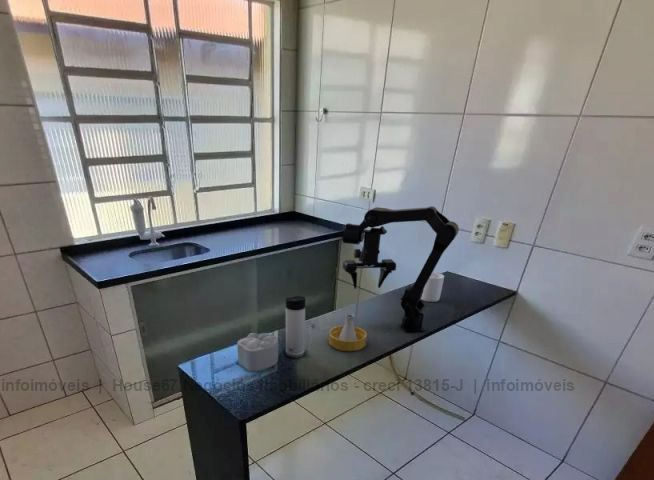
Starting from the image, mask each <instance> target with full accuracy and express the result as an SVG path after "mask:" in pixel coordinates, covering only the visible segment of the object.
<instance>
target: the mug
mask: <svg viewBox="0 0 654 480" xmlns="http://www.w3.org/2000/svg"><path fill="white" fill-rule="evenodd" d="M444 279H445V275H444V274H442V273H439V272H434V271H433V272H432V274H431V276H430V278H429V279H428V281H427V283H426V285H425V287H424V290H423V294H422V297H421V301H422V302H426V303H436V302H438V301H440V298H441V295H442V291H443V284H444Z"/></svg>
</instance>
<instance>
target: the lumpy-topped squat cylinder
mask: <svg viewBox="0 0 654 480" xmlns="http://www.w3.org/2000/svg"><path fill="white" fill-rule="evenodd" d="M236 345H237V346H236V347H237V359H238V360H237V361H238V364H239V365H240V366H242V367H243V368H245V369H246V370H247V371H249V372H260V371H263V370H266V369H268V368H271V367H273V366H275V365H276V364H277V362H278V361H279V339H278V337H277V336H276V335H274V334H269V333H266V332H262V333H256V332H250V333H249V334H248V335H247V336H246V337H244V338H240V339H239V340H238V341H237V343H236Z"/></svg>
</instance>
